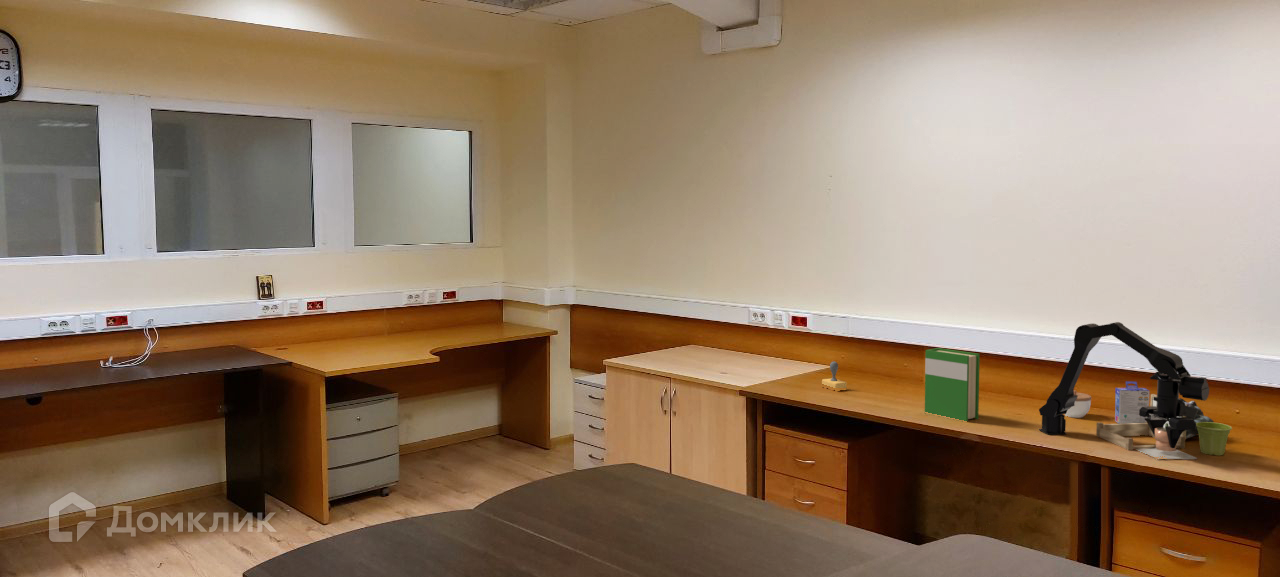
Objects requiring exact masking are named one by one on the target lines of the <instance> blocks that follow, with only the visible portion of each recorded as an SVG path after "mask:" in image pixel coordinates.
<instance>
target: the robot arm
mask: <svg viewBox="0 0 1280 577" xmlns="http://www.w3.org/2000/svg"><path fill="white" fill-rule="evenodd" d="M1108 336H1110V337H1111V336H1113V337H1114V338H1115V339H1117V340H1119V341H1120V342H1122V343H1123V344H1125V345H1126V346H1128V347H1129V348H1130V349H1132V350H1133V351H1135V352H1136V353H1139V355H1140V356H1143V357H1144V358H1145V359H1146V360H1147V361H1148V363H1149V364H1150V365H1151V366H1152V367H1153V368H1154V369H1155V370H1156V372H1155V373H1154V374H1153V375H1151V376H1150V377H1149V379H1150V380H1155V381H1157V383H1156V384H1157V386H1156V387H1157V390H1156V395H1157V397H1154V401H1157V407H1156V406H1150V405H1149V407H1141V408H1140V409H1139V415H1140V416H1142V417H1147V418H1145V420H1146V421H1147V423H1148V425H1149V427H1150V429H1151V431H1152V433H1153V435H1154V437H1155V428H1159V427H1163V426H1164V424H1165V423H1166V422H1167V421H1169V425H1170V426H1165V428H1166V432H1167V436H1168V440H1169V444H1170V447H1171V448H1175V446H1176V444H1177V442H1178V440H1179V438H1180V436H1181V434H1182V432H1184V431H1185V430H1189V429H1196V422H1195V421H1194V420H1193V419H1195V416H1196V414H1197V411H1198V410H1197V409H1194V408H1191V407H1188V406H1185V402H1183V401H1182V400H1181V399H1179V398H1180V396H1182V399H1183V398H1185V399H1189V400H1198V401H1204V402H1205V401H1207V399H1208V398H1209V395H1210V387H1209V383H1208V382H1207V379H1208V378H1207V377H1204V376H1199V377H1198V376H1191V373H1190V372H1189V371H1188V369H1187V368H1186V367H1185V365H1184V362H1183V358H1182V357H1181V356H1180V355H1178V354H1176V353H1174V352H1172V351H1169V350H1167V349H1163V348H1161V347H1157V345H1154V344H1153V343H1151V342H1150V341H1148V340H1146V339H1145V338H1144V337H1142V336H1140V335H1139V334H1137V333H1135V331H1132V329H1131V328H1130V329H1129V328H1128V327H1127V326H1125V325H1124V324H1123V323H1122V322H1119V321H1115V322H1111V323H1107V324H1101V325H1099V324H1097V323H1088V324H1082V325H1080V326H1078V327H1077V328H1076V330H1075V332H1074V337H1073V338H1074V339H1073V343H1074V344H1073V345H1074V347H1073V351H1072V353H1071V355H1070V358H1069V359H1068V363H1067V364H1066V367H1065V370H1064V372H1063V374H1062V377H1061V379H1060V381H1059V384H1058V385H1057V386H1056V388H1055V389H1053V391H1052V392H1051V393H1050V395H1048V398H1046V402H1045V404H1044V405H1043V406H1041V407H1040V408H1039V409H1038V411H1039V415H1040V416H1041V428H1039V429H1038V430H1039V431H1040V432H1042V433H1044V434H1046V435H1050V436H1053V435H1067V434H1068V433H1067V432H1066V429H1067V428H1066V424H1067V423H1066V422H1067V419H1066V418H1065V417H1066V416H1065V414H1066V413H1067V410H1068V409H1070V408H1071V407H1072V406H1074V403H1075V400H1076V399H1077V397H1078V396H1077V395H1074V389H1075V387H1076V384H1077V382H1078V380H1079V377H1080V374H1081V373H1082V370H1083V368H1084V365H1085V363H1086V361H1087V359H1088V356H1089V354H1090V352H1091V351H1092V350H1093V348H1094V347H1095V346H1096V345H1097V344H1098V343H1099V341H1101V340H1100V339H1101V338H1103V337H1108ZM1179 395H1180V396H1179ZM1183 416H1186V417H1183ZM1187 417H1190V418H1191V419H1190V418H1187ZM1169 418H1170V419H1169ZM1154 437H1153V438H1154Z"/></svg>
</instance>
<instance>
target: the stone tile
mask: <svg viewBox="0 0 1280 577" xmlns="http://www.w3.org/2000/svg"><path fill="white" fill-rule="evenodd" d="M1136 450H1138V451H1140V452H1139V453H1141V452H1143V453H1145V454H1148V455H1150V456H1153V457H1159V458H1161V457H1162V456H1163V458H1167V459H1182V460H1197V459H1198V458H1197V457H1196V456H1193V455H1191V454H1188V453H1186V452H1183V451H1181V450H1180V449H1178V448H1177V449H1176V451H1162V450H1158V449H1156V448H1152V449H1136ZM1136 450H1135V451H1136ZM1138 451H1137V452H1138ZM1143 453H1142V454H1143ZM1145 454H1144V455H1145ZM1148 455H1147V456H1148ZM1150 456H1149V457H1150ZM1160 456H1161V457H1160ZM1164 456H1165V457H1164ZM1159 458H1158V459H1159Z"/></svg>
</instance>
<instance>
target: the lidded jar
mask: <svg viewBox="0 0 1280 577" xmlns="http://www.w3.org/2000/svg"><path fill="white" fill-rule="evenodd" d="M1074 395H1077V396H1078V397H1077V399H1076V400H1075V403H1074V406H1072V407H1071V408H1070V409H1068V410H1067V413H1066V414H1064V415H1065V417H1067V416H1068V418H1074V419H1075V418H1076V419H1081V418H1084V416H1086V415H1087V414H1088V412H1089V411H1090V408H1091V405H1092V403H1091V402H1092V396H1091V395H1090V394H1087V393H1083V392H1077V390H1074Z"/></svg>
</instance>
